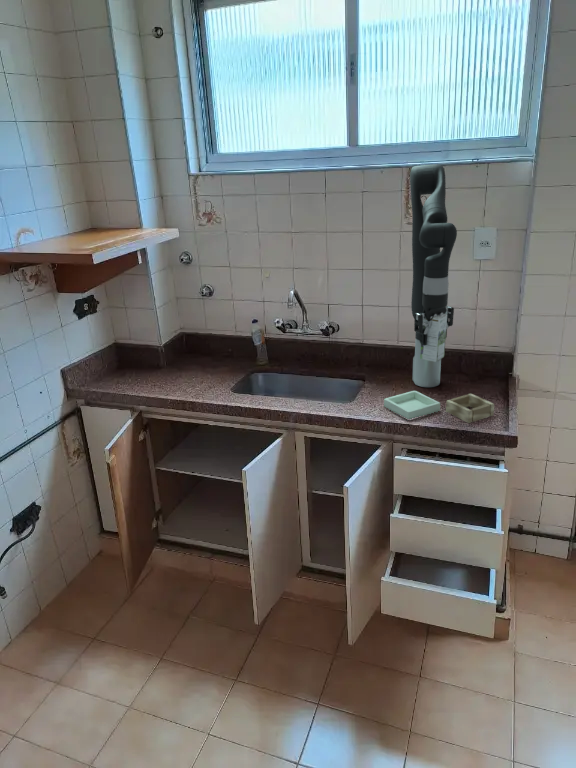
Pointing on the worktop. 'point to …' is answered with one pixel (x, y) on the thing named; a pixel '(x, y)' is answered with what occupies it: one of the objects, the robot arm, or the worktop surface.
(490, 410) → the collar
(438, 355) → the syrup box
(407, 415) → the tray
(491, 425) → the worktop surface
